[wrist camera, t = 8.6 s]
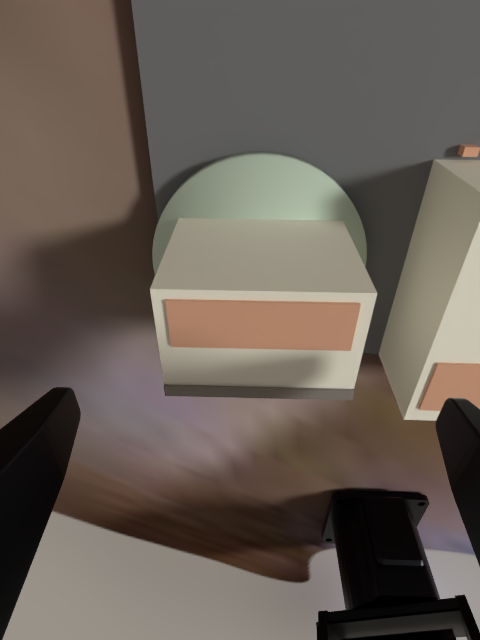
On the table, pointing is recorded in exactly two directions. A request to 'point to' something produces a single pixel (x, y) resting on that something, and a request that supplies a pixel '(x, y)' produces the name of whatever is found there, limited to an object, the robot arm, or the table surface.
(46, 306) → the table surface
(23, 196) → the table surface
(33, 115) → the table surface
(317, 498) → the table surface
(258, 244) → the cream block
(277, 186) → the coaster
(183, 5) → the mat
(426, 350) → the cream labeled box
